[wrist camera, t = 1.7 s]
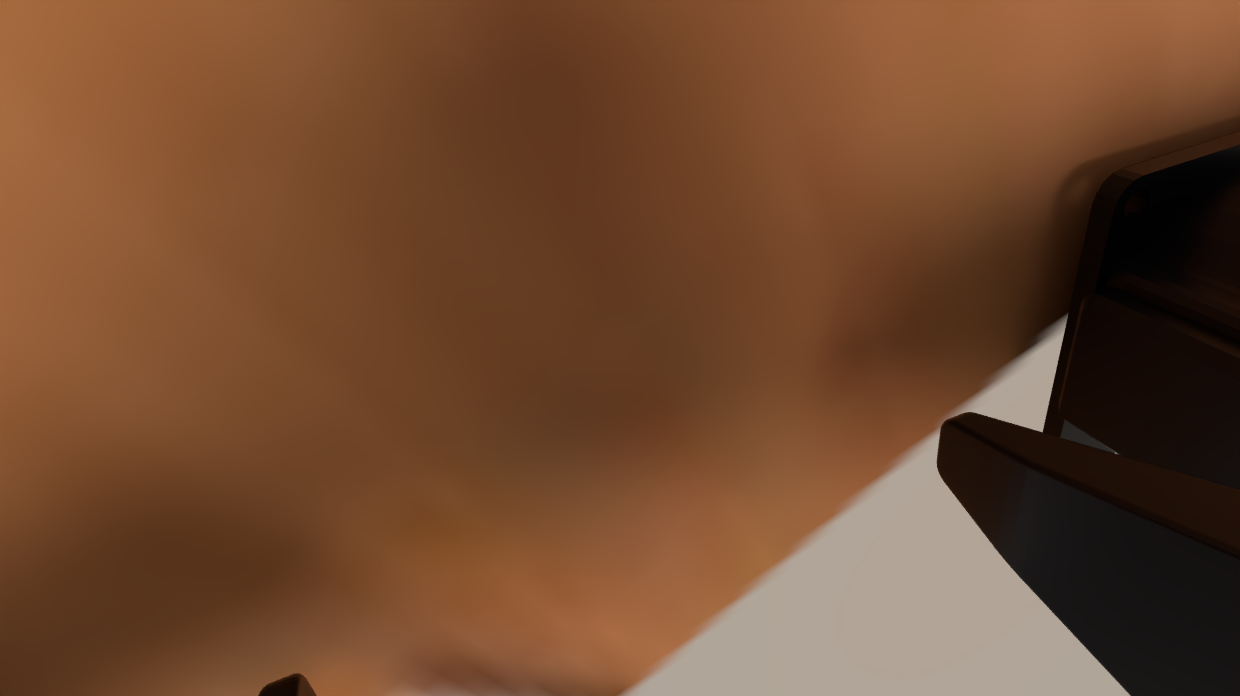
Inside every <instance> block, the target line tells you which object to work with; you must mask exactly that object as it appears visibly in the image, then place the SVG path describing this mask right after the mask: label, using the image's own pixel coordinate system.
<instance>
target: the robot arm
mask: <svg viewBox="0 0 1240 696" xmlns="http://www.w3.org/2000/svg"><path fill="white" fill-rule="evenodd" d="M1115 452H1116V453H1117V454H1115ZM937 468H938V471H939V474H940V476H941V478H942V479H943V481H944V482H945V483H946V485H947V486H948V487H949V489H950V490H951V491H952V493H953V494H954V495H955V496H956V498H957V499H958V500H959V502H960V503H961V504H962V506H963V507H964V508H965V509H966V511H967V512H968V513H969V515H970V516H971V517H972V519H973V520H974V521H975V522H976V524H977V525H978V526H979V528H980V529H981V530H982V532H983V533H984V534H985V535H986V537H987V538H988V539H989V541H990V542H991V543H992V544H993V546H994V547H995V549H996V550H997V551H998V552H999V554H1000V555H1001V556H1002V557H1003V558H1004V560H1005V561H1006V562H1007V563H1008V564H1009V565H1010V567H1011V568H1012V569H1013V570H1014V571H1015V572H1016V573H1017V574H1018V576H1019V577H1020V578H1021V579H1022V580H1023V581H1024V582H1025V583H1026V584H1027V585H1028V586H1029V587H1030V588H1031V590H1032V591H1033V592H1034V593H1035V594H1036V595H1037V596H1038V597H1039V598H1040V599H1041V600H1042V601H1043V602H1044V604H1046V605H1047V607H1048V608H1049V609H1050V610H1051V611H1052V612H1053V613H1054V614H1055V615H1056V616H1057V617H1058V618H1059V620H1060V621H1061V622H1062V623H1063V624H1064V625H1065V626H1066V627H1067V628H1068V629H1069V630H1070V631H1071V632H1072V633H1073V635H1074V636H1075V637H1076V638H1077V639H1078V640H1079V641H1080V642H1081V643H1082V644H1083V645H1084V646H1085V647H1086V648H1087V650H1088V651H1089V652H1090V653H1091V654H1092V655H1093V656H1094V657H1095V658H1096V659H1097V660H1098V661H1099V662H1100V663H1101V665H1102V666H1103V667H1104V668H1105V669H1106V670H1107V671H1108V672H1109V673H1110V674H1111V675H1112V676H1113V677H1114V678H1115V679H1116V681H1117V682H1118V683H1119V684H1120V685H1121V686H1122V687H1123V688H1124V689H1125V690H1126V691H1127V692H1128V693H1129V694H1130V696H1240V132H1237V133H1233V134H1230V135H1227V136H1224V137H1221V138H1218V139H1214V140H1211V141H1208V142H1205V143H1202V144H1199V145H1195V146H1192V147H1189V148H1186V149H1183V150H1180V151H1176V152H1173V153H1170V154H1167V155H1164V156H1161V157H1157V158H1154V159H1151V160H1148V161H1145V162H1142V163H1138V164H1135V165H1132V166H1129V167H1126V168H1123V169H1120V170H1118V171H1117V172H1115V173H1113V174H1112V175H1111V176H1110V177H1108V178H1107V179H1106V180H1105V181H1104V182H1103V184H1102V185H1101V187H1100V188H1099V190H1098V192H1097V193H1096V196H1095V199H1094V201H1093V204H1092V208H1091V213H1090V218H1089V222H1088V227H1087V231H1086V236H1085V241H1084V245H1083V250H1082V254H1081V259H1080V264H1079V268H1078V273H1077V277H1076V282H1075V287H1074V291H1073V296H1072V300H1071V305H1070V309H1069V314H1068V319H1067V323H1066V328H1065V332H1064V337H1063V342H1062V346H1061V351H1060V356H1059V360H1058V365H1057V369H1056V374H1055V378H1054V383H1053V388H1052V393H1051V397H1050V401H1049V406H1048V411H1047V415H1046V420H1045V424H1044V429H1043V432H1039V431H1036V430H1032V429H1029V428H1025V427H1022V426H1019V425H1015V424H1012V423H1008V422H1005V421H1001V420H997V419H994V418H991V417H988V416H984V415H981V414H977V413H973V412H967V413H963V414H960V415H958V416H955V417H952V418H950V419H947V420H946V421H944V423H943V424H942V426H941V430H940V438H939V447H938V455H937ZM258 696H317V695H316V694H315V692H314V691H313V689H312V687H311V686H310V684H309V682H308V681H307V679H306V678H305V677H304V676H303V675H302V674H299V673H297V674H292V675H290V676H287V677H285V678H282V679H279V680H277V681H274V682H272V683H269V684H268V685H266V686H265V687H264V688H263V689H262V690H261V691H260V693H259V695H258Z"/></svg>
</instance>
